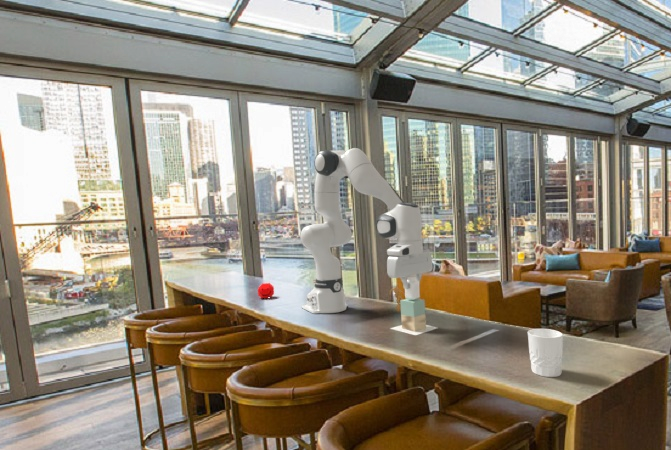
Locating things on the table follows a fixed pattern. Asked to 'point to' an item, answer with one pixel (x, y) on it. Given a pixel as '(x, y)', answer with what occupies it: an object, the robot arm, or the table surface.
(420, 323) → the maple brick
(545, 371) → the white cup
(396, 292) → the figurine
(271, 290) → the ball
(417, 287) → the pepper shaker
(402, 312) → the sage brick
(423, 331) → the plate
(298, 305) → the table surface
